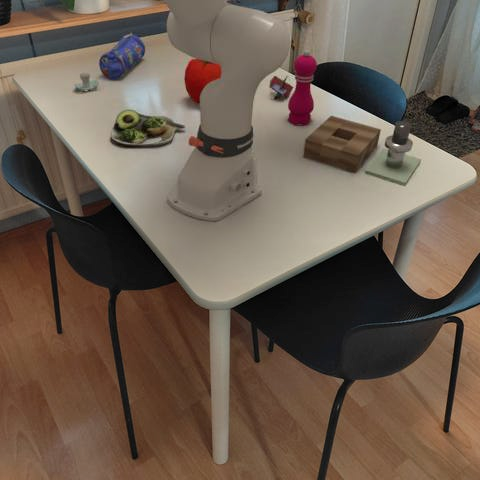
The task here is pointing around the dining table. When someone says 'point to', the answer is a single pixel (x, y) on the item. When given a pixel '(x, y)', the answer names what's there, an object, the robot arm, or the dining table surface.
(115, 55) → the pencil case
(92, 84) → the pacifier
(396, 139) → the flanged metal shaft
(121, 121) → the salad plate
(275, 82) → the geometric puzzle
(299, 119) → the pepper mill
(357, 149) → the block
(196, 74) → the tomato
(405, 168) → the mat
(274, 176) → the dining table surface
